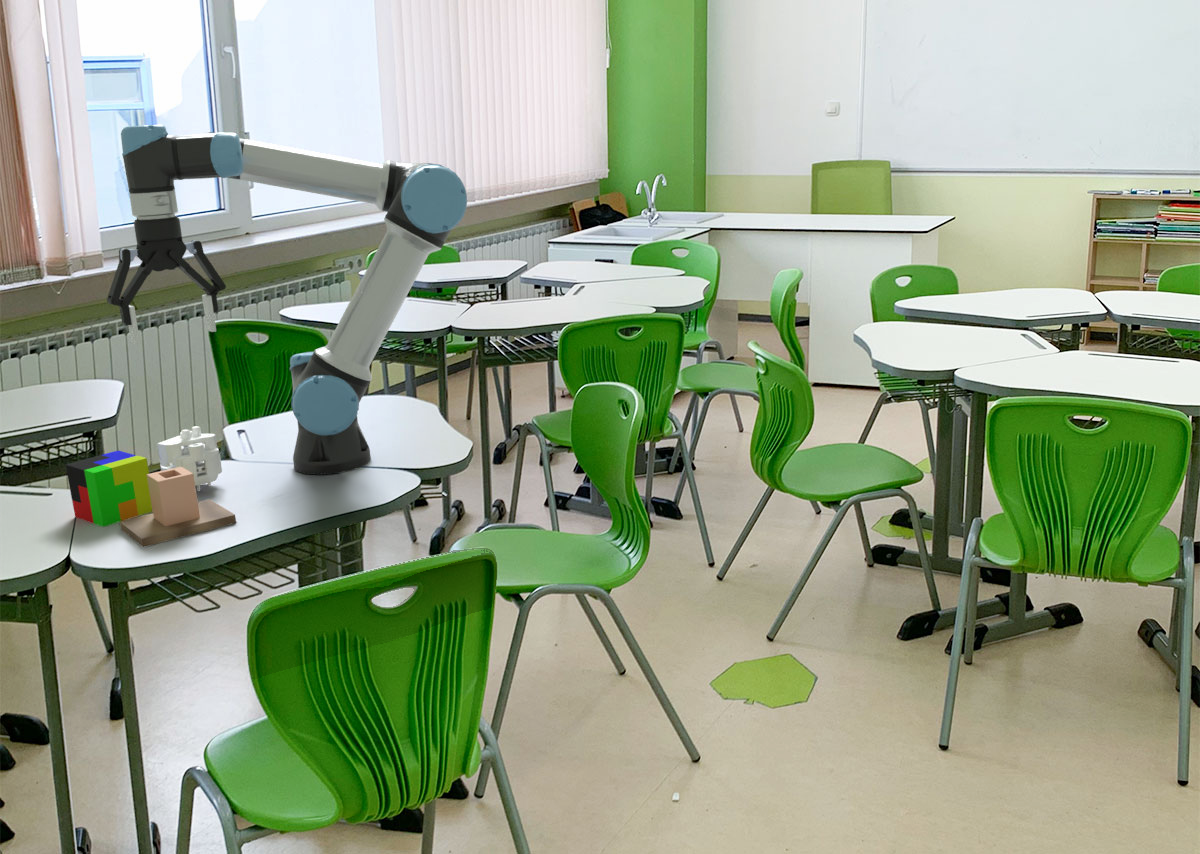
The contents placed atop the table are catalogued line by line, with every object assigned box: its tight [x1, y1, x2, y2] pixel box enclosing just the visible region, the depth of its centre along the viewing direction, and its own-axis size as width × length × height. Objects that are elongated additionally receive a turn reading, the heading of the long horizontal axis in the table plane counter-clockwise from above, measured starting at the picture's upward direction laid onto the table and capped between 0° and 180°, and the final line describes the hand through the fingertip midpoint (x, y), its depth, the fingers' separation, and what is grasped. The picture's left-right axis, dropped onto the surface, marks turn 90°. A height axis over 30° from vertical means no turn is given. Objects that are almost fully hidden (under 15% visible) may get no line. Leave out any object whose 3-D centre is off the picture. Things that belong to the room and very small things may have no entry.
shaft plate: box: [119, 499, 237, 548], centre depth 202 cm, size 16×12×8 cm
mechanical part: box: [156, 425, 223, 492], centre depth 223 cm, size 11×12×12 cm
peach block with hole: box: [147, 467, 200, 526], centre depth 202 cm, size 6×6×8 cm
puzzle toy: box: [65, 450, 153, 528], centre depth 211 cm, size 10×10×10 cm
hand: (174, 337), depth 209 cm, fingers open, 13 cm apart
